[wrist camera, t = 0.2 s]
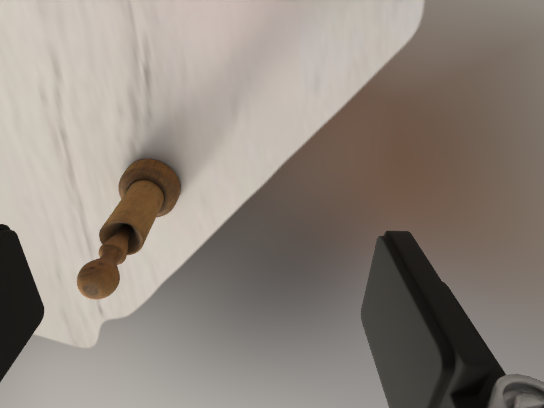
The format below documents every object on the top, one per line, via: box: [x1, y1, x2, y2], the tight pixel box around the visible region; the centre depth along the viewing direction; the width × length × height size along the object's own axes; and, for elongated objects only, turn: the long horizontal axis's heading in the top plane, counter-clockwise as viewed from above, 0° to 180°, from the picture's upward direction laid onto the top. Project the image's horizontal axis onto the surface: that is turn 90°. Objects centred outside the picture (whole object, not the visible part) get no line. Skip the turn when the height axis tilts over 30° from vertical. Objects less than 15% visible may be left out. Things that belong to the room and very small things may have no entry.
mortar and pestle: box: [77, 159, 181, 299], centre depth 35 cm, size 7×6×18 cm
